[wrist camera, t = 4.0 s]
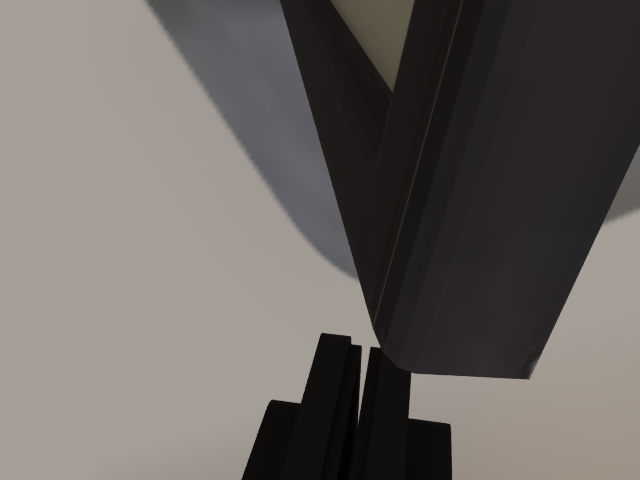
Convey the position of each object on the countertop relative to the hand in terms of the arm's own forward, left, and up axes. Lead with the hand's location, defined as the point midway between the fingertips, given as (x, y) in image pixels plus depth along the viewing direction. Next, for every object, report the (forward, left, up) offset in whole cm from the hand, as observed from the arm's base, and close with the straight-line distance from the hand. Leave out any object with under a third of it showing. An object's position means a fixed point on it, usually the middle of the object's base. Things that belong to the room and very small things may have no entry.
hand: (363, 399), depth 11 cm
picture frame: (-2, -16, -10) cm, 19 cm away
